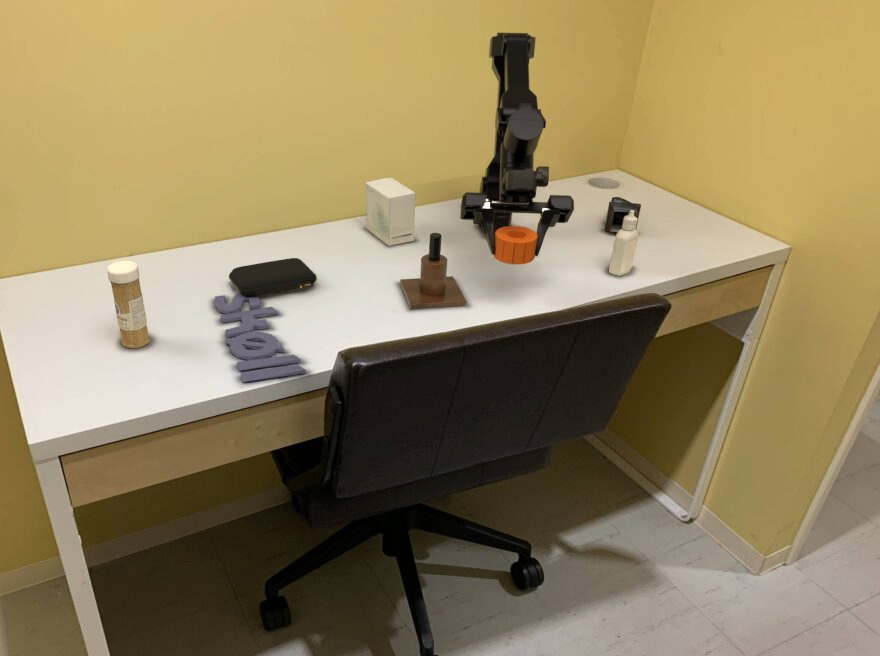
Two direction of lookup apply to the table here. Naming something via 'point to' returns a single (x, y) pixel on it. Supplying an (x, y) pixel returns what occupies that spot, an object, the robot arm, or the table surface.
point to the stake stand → (433, 281)
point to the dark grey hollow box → (619, 213)
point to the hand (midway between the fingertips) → (514, 254)
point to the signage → (249, 340)
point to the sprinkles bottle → (129, 303)
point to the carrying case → (272, 277)
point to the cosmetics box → (390, 211)
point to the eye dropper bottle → (624, 246)
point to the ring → (515, 245)
